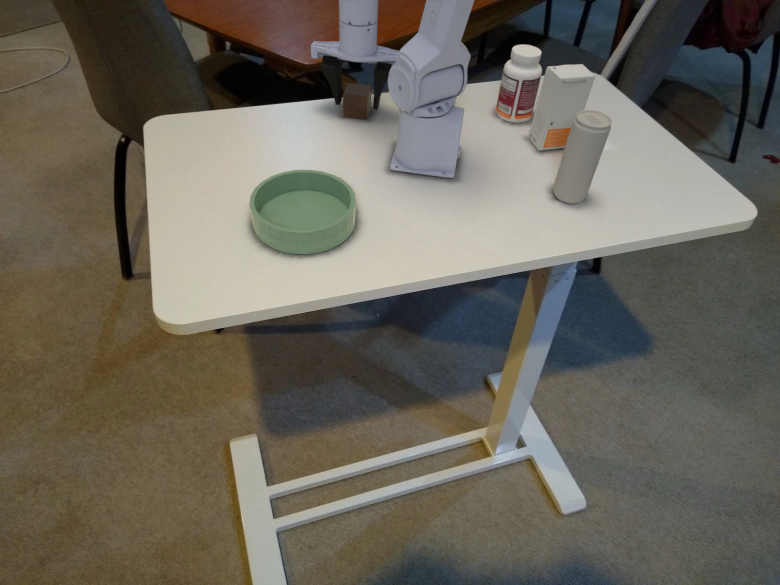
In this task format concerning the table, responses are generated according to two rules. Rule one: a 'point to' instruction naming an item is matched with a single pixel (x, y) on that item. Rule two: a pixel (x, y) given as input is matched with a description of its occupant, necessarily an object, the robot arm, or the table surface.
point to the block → (357, 101)
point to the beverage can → (581, 155)
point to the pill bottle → (519, 84)
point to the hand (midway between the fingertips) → (357, 104)
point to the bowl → (303, 211)
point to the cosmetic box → (559, 104)
